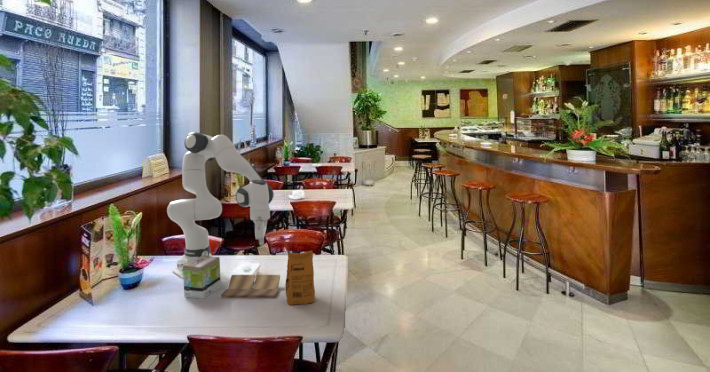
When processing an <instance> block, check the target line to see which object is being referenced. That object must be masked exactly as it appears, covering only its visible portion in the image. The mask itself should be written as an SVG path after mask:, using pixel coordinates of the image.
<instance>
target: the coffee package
mask: <svg viewBox="0 0 710 372" xmlns="http://www.w3.org/2000/svg"><path fill="white" fill-rule="evenodd" d="M313 259H314V253H313V250H309V251H304V252H301V253H299V252H287V265H286V277H285V297H286V302H287V305H289V306H295V305H307V304H311V303H312V304H313V303H314V302H315V298H316V296H315V295H316V291H315V281H314V278H315V277H314V276H315V274H314V273H315V271H314V262H313V261H314V260H313Z"/></svg>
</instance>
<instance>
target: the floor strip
mask: <svg viewBox="0 0 710 372" xmlns="http://www.w3.org/2000/svg"><path fill="white" fill-rule="evenodd" d="M278 293H279V288H278V289H254V288H252V289H228V288H225V290H224V291H223V292H222V293H221V294H220V299H225V298H226V299H230V298H231V299H236V298H237V299H275V298H276V297H277V295H278Z"/></svg>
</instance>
